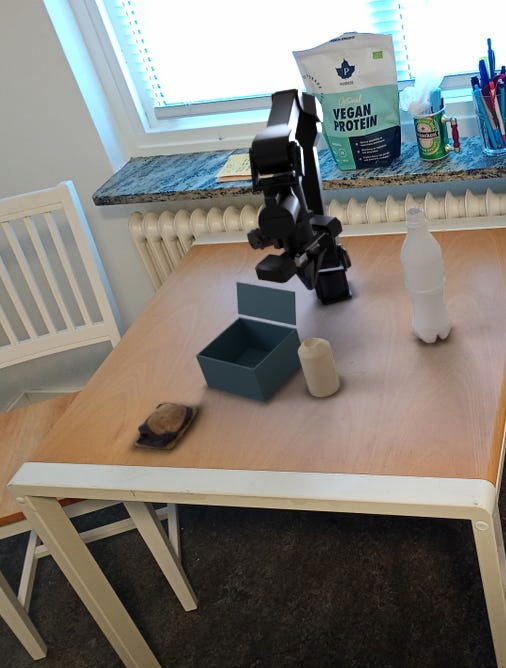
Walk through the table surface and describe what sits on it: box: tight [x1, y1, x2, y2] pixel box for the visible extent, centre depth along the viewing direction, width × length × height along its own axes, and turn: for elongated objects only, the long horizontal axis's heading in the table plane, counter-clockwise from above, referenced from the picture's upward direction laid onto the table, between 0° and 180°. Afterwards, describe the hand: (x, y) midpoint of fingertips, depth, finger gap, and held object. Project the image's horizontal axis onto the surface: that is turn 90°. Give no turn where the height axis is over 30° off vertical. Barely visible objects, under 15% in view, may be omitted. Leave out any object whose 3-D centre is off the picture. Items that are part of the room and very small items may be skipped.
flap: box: [235, 281, 297, 326], centre depth 132 cm, size 6×14×1 cm
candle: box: [298, 337, 341, 398], centre depth 124 cm, size 6×6×10 cm
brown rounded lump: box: [134, 402, 199, 451], centre depth 125 cm, size 11×8×4 cm
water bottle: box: [400, 206, 452, 344], centre depth 126 cm, size 7×7×25 cm
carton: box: [195, 316, 302, 404], centre depth 132 cm, size 13×14×7 cm
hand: (311, 289), depth 131 cm, fingers closed
